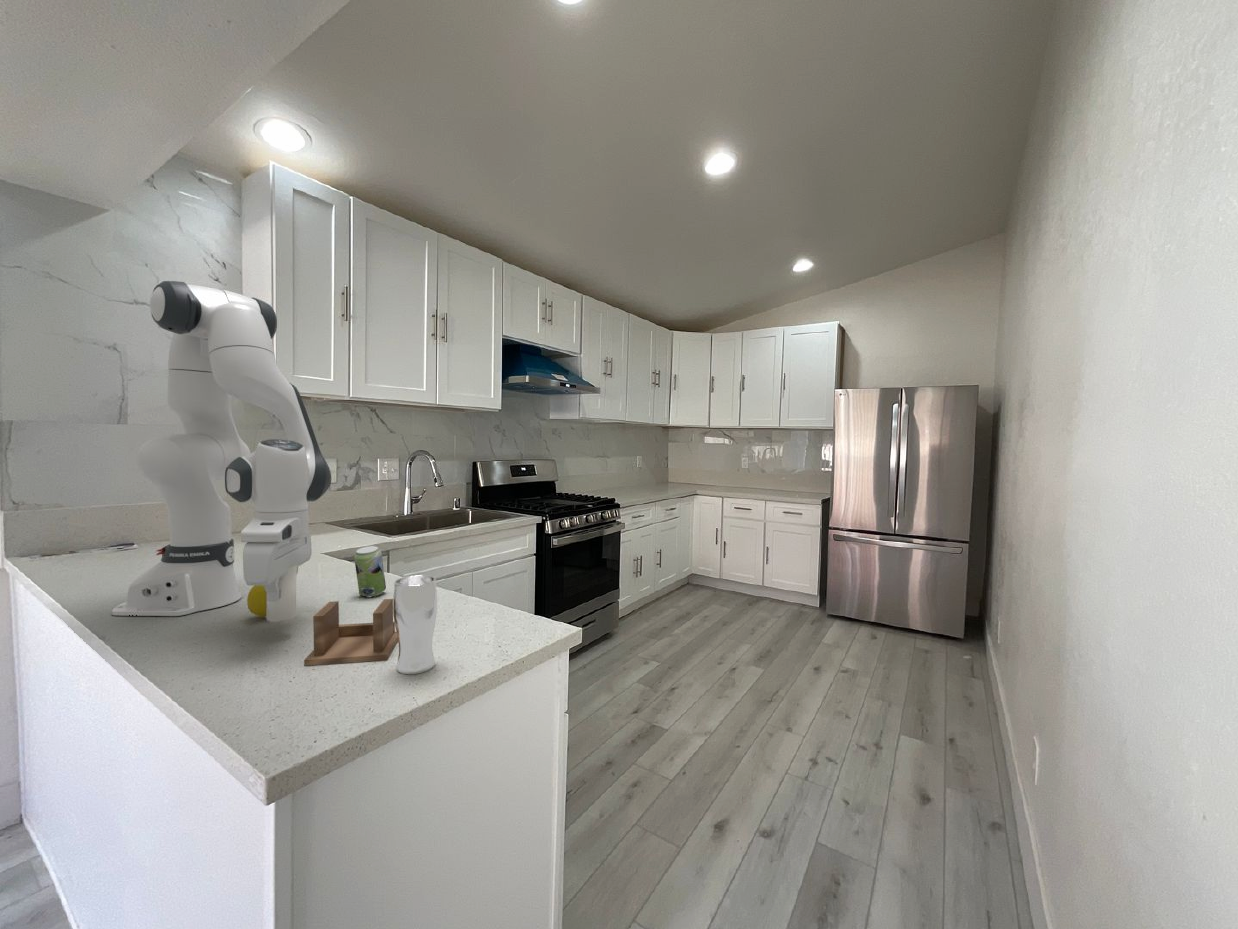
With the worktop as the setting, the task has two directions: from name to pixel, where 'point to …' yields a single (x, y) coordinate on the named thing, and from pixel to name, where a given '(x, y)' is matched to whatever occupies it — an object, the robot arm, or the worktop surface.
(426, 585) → the beer glass
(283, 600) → the roll
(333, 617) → the holder
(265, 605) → the lemon
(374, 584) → the beverage can
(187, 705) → the worktop surface
